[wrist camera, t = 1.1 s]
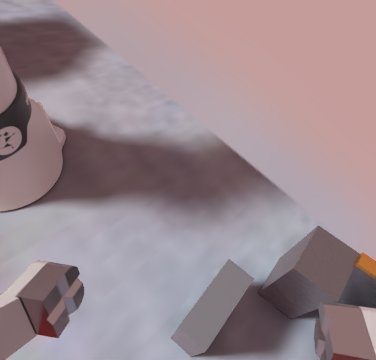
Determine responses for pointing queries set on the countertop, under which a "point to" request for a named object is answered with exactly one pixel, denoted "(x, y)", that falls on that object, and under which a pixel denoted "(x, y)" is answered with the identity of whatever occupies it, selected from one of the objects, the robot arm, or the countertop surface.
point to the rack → (320, 276)
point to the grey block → (212, 309)
